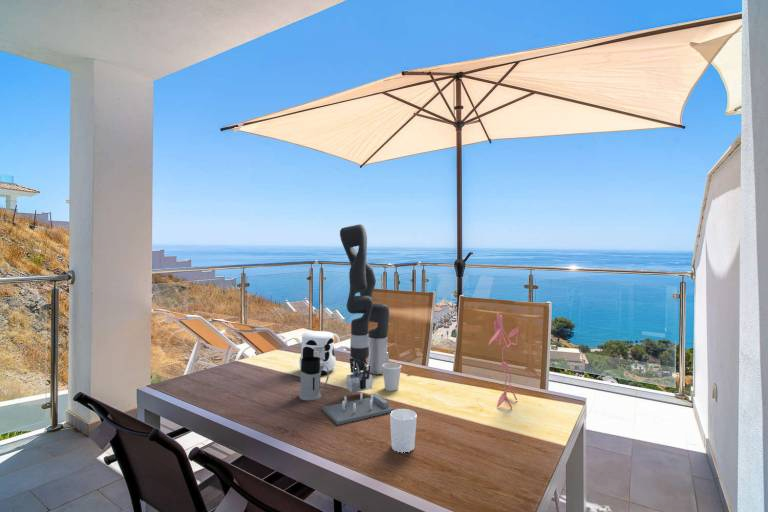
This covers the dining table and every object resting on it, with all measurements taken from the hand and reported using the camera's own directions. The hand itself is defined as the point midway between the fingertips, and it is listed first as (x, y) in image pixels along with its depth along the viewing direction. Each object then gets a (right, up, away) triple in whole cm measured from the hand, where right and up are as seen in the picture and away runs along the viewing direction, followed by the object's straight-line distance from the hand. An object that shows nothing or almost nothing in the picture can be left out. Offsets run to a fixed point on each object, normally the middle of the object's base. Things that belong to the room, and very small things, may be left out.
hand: (359, 386), depth 155 cm
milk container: (-22, -3, +31) cm, 39 cm away
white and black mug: (-17, -4, -3) cm, 18 cm away
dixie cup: (+13, -4, +8) cm, 16 cm away
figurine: (+54, -4, -5) cm, 55 cm away
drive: (0, -1, 0) cm, 1 cm away
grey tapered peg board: (0, -4, -16) cm, 16 cm away
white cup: (+16, -4, -42) cm, 45 cm away
